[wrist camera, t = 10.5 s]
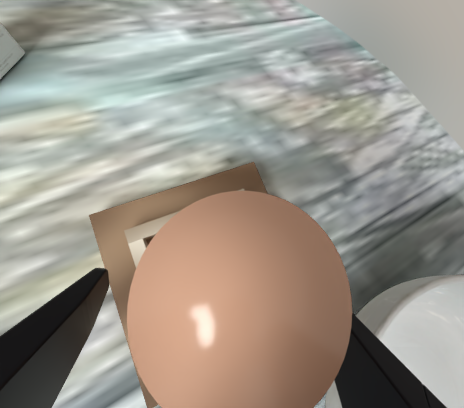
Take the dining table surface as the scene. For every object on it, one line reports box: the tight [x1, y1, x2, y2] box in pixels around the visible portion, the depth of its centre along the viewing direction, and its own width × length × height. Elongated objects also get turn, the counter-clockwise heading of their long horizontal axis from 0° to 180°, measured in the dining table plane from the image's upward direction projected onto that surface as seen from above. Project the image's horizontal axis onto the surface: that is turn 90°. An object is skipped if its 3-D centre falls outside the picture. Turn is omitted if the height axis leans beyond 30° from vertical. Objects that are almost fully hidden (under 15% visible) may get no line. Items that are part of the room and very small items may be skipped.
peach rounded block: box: [127, 191, 352, 408], centre depth 11 cm, size 5×5×13 cm
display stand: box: [89, 162, 268, 408], centre depth 17 cm, size 14×14×3 cm
